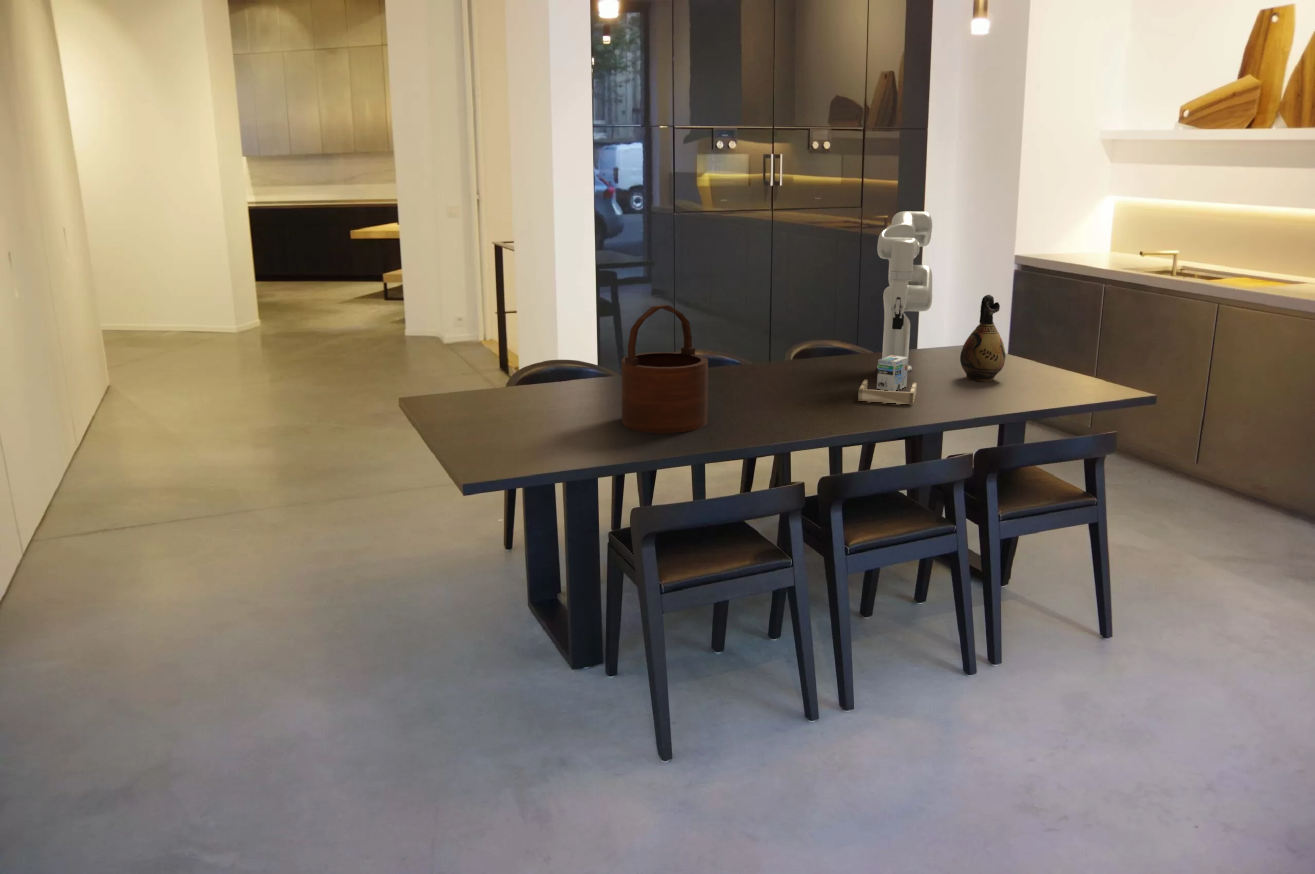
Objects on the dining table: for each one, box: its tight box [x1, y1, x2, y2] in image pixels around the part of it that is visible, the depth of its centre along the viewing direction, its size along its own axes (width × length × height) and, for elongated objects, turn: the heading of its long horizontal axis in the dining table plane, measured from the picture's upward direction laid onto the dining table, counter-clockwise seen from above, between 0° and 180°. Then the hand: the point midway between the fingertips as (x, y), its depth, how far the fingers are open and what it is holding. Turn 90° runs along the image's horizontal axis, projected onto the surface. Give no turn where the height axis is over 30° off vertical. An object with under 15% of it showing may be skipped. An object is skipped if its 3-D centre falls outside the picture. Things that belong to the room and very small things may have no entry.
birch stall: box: [857, 379, 918, 406], centre depth 339 cm, size 16×17×4 cm
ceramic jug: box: [959, 294, 1007, 383], centre depth 365 cm, size 17×15×30 cm
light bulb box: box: [876, 355, 909, 391], centre depth 352 cm, size 11×7×11 cm, turn 143°
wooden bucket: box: [621, 304, 709, 434], centre depth 304 cm, size 26×26×35 cm
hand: (897, 327), depth 358 cm, fingers open, 6 cm apart
